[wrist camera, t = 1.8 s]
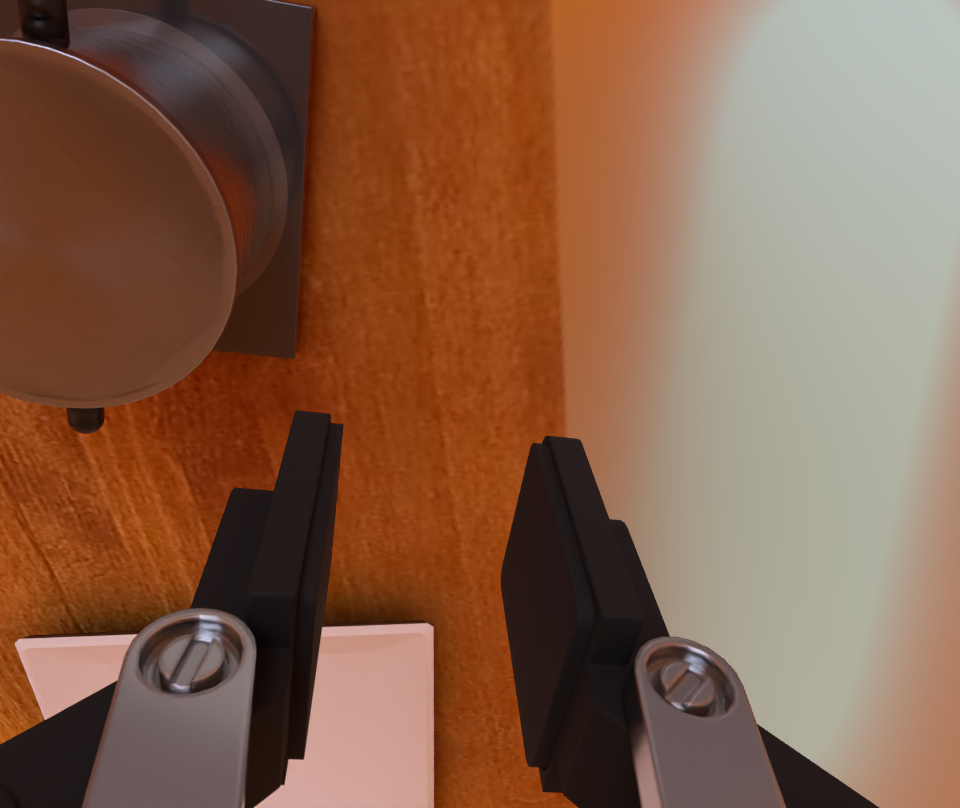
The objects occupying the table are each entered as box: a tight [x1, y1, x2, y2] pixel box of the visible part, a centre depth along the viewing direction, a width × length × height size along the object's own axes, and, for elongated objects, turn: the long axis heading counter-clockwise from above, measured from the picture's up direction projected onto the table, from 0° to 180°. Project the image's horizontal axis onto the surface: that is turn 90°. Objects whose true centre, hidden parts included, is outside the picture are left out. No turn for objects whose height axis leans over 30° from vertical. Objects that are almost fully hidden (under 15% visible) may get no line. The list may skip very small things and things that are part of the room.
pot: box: [0, 0, 273, 434], centre depth 22 cm, size 13×9×7 cm
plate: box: [15, 620, 434, 808], centre depth 39 cm, size 19×19×2 cm
